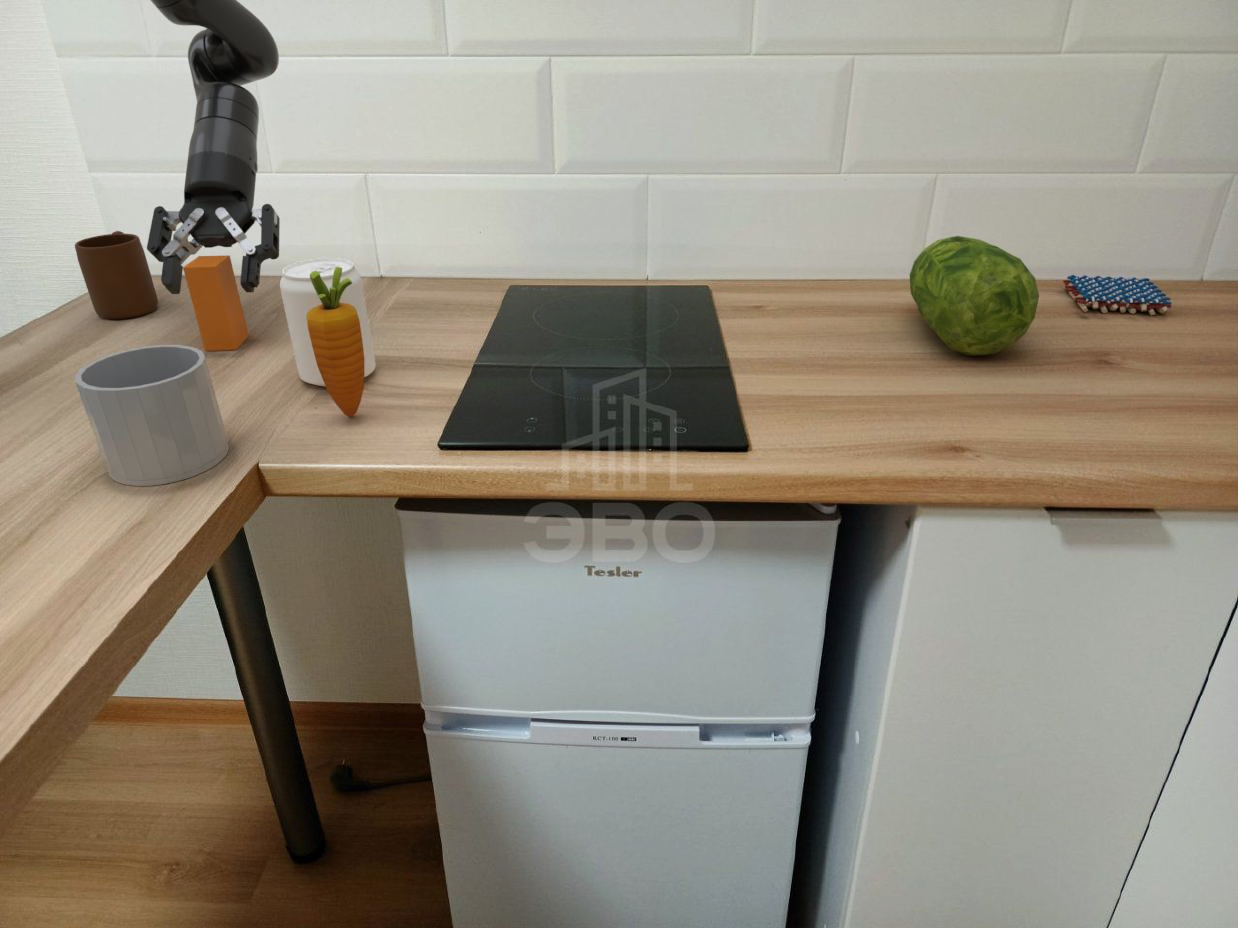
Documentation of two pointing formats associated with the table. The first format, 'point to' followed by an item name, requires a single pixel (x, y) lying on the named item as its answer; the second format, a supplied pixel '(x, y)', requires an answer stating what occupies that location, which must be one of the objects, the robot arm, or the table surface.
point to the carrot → (337, 343)
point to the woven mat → (1116, 294)
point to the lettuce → (973, 294)
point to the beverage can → (304, 297)
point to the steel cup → (153, 414)
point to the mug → (117, 275)
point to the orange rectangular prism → (216, 302)
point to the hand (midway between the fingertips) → (209, 290)
